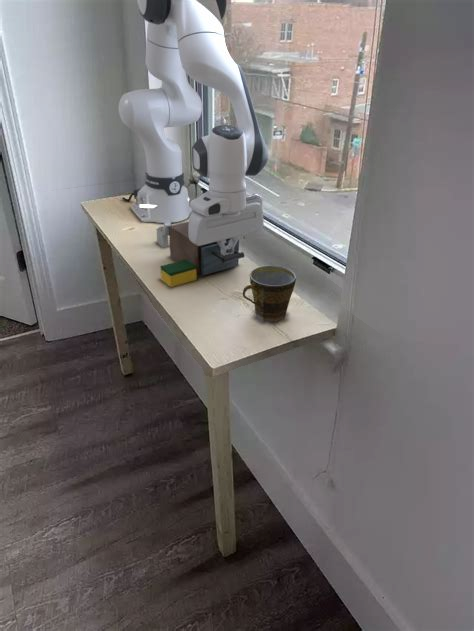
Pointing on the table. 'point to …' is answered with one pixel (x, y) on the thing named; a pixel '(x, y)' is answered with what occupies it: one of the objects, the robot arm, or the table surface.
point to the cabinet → (184, 246)
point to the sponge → (178, 273)
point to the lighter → (163, 234)
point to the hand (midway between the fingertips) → (227, 253)
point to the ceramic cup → (271, 292)
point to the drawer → (218, 257)
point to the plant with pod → (194, 180)
